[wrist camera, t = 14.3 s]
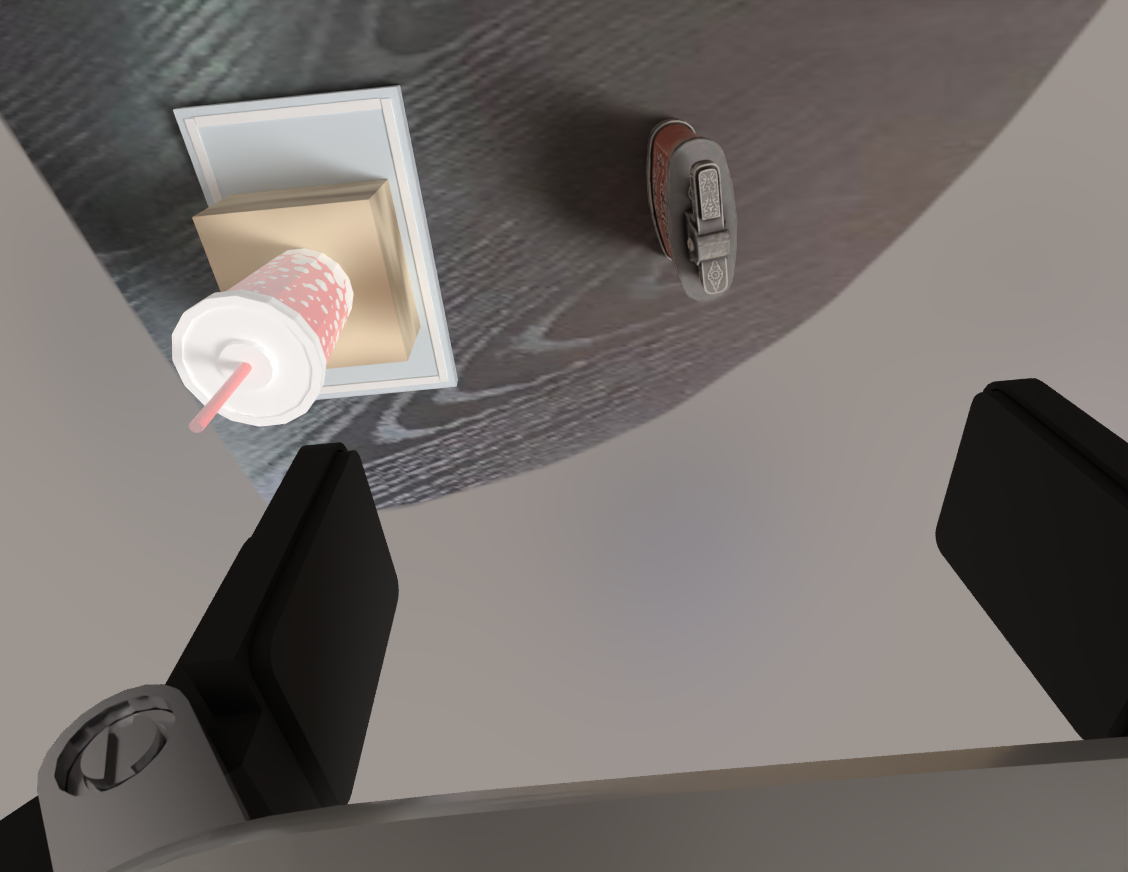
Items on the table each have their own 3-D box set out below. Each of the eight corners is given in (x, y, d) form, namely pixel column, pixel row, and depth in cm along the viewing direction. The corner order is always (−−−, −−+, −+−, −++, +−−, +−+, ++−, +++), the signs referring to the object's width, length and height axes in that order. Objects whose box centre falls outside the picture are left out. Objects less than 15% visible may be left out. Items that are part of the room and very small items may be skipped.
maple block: (231, 194, 37) (191, 217, 33) (388, 178, 37) (368, 199, 33) (281, 339, 42) (252, 375, 38) (420, 326, 42) (407, 361, 38)
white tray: (181, 107, 36) (171, 109, 35) (399, 85, 36) (396, 86, 35) (285, 395, 45) (280, 403, 44) (457, 379, 45) (456, 387, 44)
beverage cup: (299, 207, 33) (167, 313, 21) (391, 296, 36) (319, 434, 24) (226, 284, 35) (68, 420, 23) (318, 363, 38) (218, 521, 26)
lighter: (710, 251, 41) (755, 312, 33) (656, 263, 41) (687, 325, 33) (698, 112, 37) (746, 139, 28) (638, 125, 37) (668, 157, 29)
